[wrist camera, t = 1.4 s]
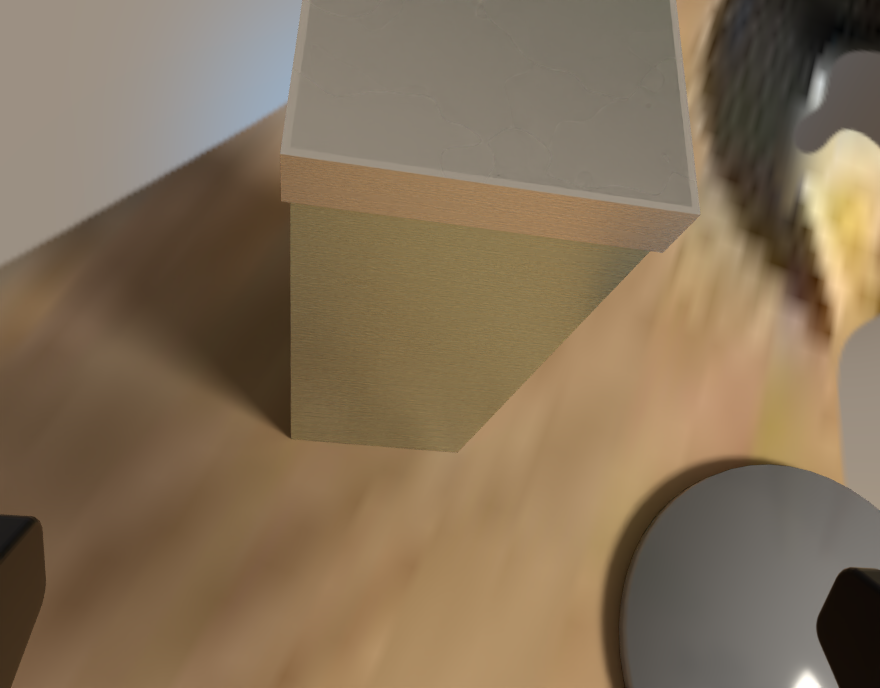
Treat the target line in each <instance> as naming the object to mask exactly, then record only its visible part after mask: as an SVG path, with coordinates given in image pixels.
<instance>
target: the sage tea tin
mask: <svg viewBox="0 0 880 688" xmlns="http://www.w3.org/2000/svg"><path fill="white" fill-rule="evenodd" d="M280 170H281V201H283V202H290V302H291V439H299V440H311V441H323V442H336V443H348V444H360V445H372V446H384V447H396V448H409V449H421V450H433V451H445V452H457V453H458V452H459V450H460V449H461V448H462V447H463V446H464V445H465V444H466V443H467V442H468V441H469V440H470V439H471V438H472V437H473V436H474V435H475V434H476V433H477V432H478V431H479V430H480V429H481V427H482V426H483V425H484V424H485V423H486V422H487V421H488V420H489V419H490V418H491V417H492V416H493V415H494V414H495V413H496V412H497V411H498V410H499V409H500V408H501V407H502V405H503V404H504V403H505V402H506V401H507V400H508V399H509V398H510V397H511V396H512V395H513V394H514V393H515V392H516V391H517V390H518V389H519V388H520V387H521V386H522V385H523V384H524V382H525V381H526V380H527V379H528V378H529V377H530V376H531V375H532V374H533V373H534V372H535V371H536V370H537V369H538V368H539V367H540V366H541V365H542V364H543V363H544V362H545V361H546V359H547V358H548V357H549V356H550V355H551V354H552V353H553V352H554V351H555V350H556V349H557V348H558V347H559V346H560V345H561V344H562V343H563V342H564V341H565V340H566V339H567V338H568V336H569V335H570V334H571V333H572V332H573V331H574V330H575V329H576V328H577V327H578V326H579V325H580V324H581V323H582V322H583V321H584V320H585V319H586V318H587V317H588V316H589V315H590V313H591V312H592V311H593V310H594V309H595V308H596V307H597V306H598V305H599V304H600V303H601V302H602V301H603V300H604V299H605V298H606V297H607V296H608V295H609V294H610V293H611V291H612V290H613V289H614V288H615V287H616V286H617V285H618V284H619V283H620V282H621V281H622V280H623V279H624V278H625V277H626V276H627V275H628V274H629V273H630V272H631V271H632V270H633V268H634V267H635V266H636V265H637V264H638V263H639V262H640V261H641V260H642V259H643V258H644V257H645V256H646V255H647V254H648V253H649V252H650V251H654V252H661V253H663V252H664V251H665V250H666V249H667V248H668V247H669V246H670V245H671V244H672V243H673V242H674V241H675V240H676V239H677V238H678V237H679V236H680V235H681V234H682V233H683V232H684V231H685V230H686V229H687V228H688V227H689V226H690V225H691V224H692V223H693V222H694V221H695V220H696V219H697V218H698V217H699V216H700V207H699V199H698V190H697V181H696V172H695V163H694V155H693V146H692V137H691V128H690V119H689V111H688V102H687V93H686V84H685V75H684V67H683V58H682V49H681V40H680V31H679V23H678V14H677V5H676V0H302V7H301V14H300V21H299V28H298V34H297V41H296V49H295V55H294V62H293V69H292V76H291V83H290V90H289V96H288V103H287V110H286V117H285V124H284V131H283V137H282V144H281V151H280Z"/></svg>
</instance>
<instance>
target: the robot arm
mask: <svg viewBox="0 0 880 688" xmlns="http://www.w3.org/2000/svg"><path fill="white" fill-rule="evenodd" d="M45 586H46V575H45V560H44V545H43V531H42V526H41V523H40V521H39V520H38V519H36V518H35V517H32V516H19V515H3V514H0V688H11V686H12V683H13V680H14V678H15V675H16V672H17V670H18V667H19V664H20V662H21V659H22V656H23V654H24V651H25V648H26V646H27V643H28V640H29V638H30V635H31V632H32V630H33V627H34V624H35V622H36V619H37V616H38V614H39V611H40V608H41V605H42V602H43V598H44V593H45ZM816 632H817V637H818V640H819V643H820V645H821V647H822V650H823V652H824V654H825V657H826V659H827V661H828V664H829V666H830V668H831V671H832V673H833V675H834V678H835V680H836V682H837V684H838V687H839V688H880V570H879V569H875V568H860V567H848V568H845V569H843V570H842V571H841V572H840V573H839V574H838V575H837V577H836V579H835V581H834V583H833V585H832V587H831V589H830V592H829V594H828V596H827V598H826V600H825V602H824V604H823V606H822V608H821V610H820V612H819V615H818V617H817V622H816Z"/></svg>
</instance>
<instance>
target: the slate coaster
mask: <svg viewBox="0 0 880 688" xmlns="http://www.w3.org/2000/svg"><path fill="white" fill-rule="evenodd" d="M848 567H860V568H875V569H879V570H880V510H878V509H877V508H876V507H875V506H874V505H872V504H871V503H870V502H869V501H867V500H866V499H864V498H863V497H861V496H860V495H858V494H857V493H855V492H854V491H852V490H851V489H849V488H847V487H845V486H843V485H841V484H839V483H837V482H836V481H834V480H832V479H829V478H827V477H824V476H821V475H819V474H816V473H814V472H811V471H807V470H803V469H798V468H794V467H790V466H779V465H750V466H745V467H740V468H735V469H730V470H727V471H725V472H722V473H719V474H716V475H714V476H711V477H708V478H705V479H703V480H701V481H699V482H697V483H695V484H694V485H692V486H690V487H688V488H686V489H685V490H684V491H682V492H681V493H680V494H678V495H677V496H676V497H675V498H673V499H672V500H671V501H670V502H669V503H668V504H667V505H666V506H665V507H664V508H663V509H662V510H661V511H660V512H659V513H658V514H657V516H656V517H655V518H654V519H653V521H652V522H651V524H650V525H649V527H648V528H647V530H646V531H645V533H644V534H643V536H642V538H641V540H640V542H639V544H638V546H637V548H636V550H635V552H634V554H633V557H632V560H631V563H630V566H629V569H628V572H627V575H626V578H625V583H624V588H623V593H622V598H621V605H620V619H619V644H620V658H621V665H622V671H623V678H624V683H625V687H626V688H839V687H838V684H837V682H836V680H835V678H834V675H833V673H832V671H831V668H830V666H829V664H828V661H827V659H826V657H825V654H824V652H823V650H822V647H821V645H820V643H819V640H818V637H817V632H816V622H817V617H818V615H819V612H820V610H821V608H822V606H823V604H824V602H825V600H826V598H827V596H828V594H829V592H830V589H831V587H832V585H833V583H834V581H835V579H836V577H837V575H838V574H839V573H840V572H841V571H842V570H843V569H845V568H848Z"/></svg>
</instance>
